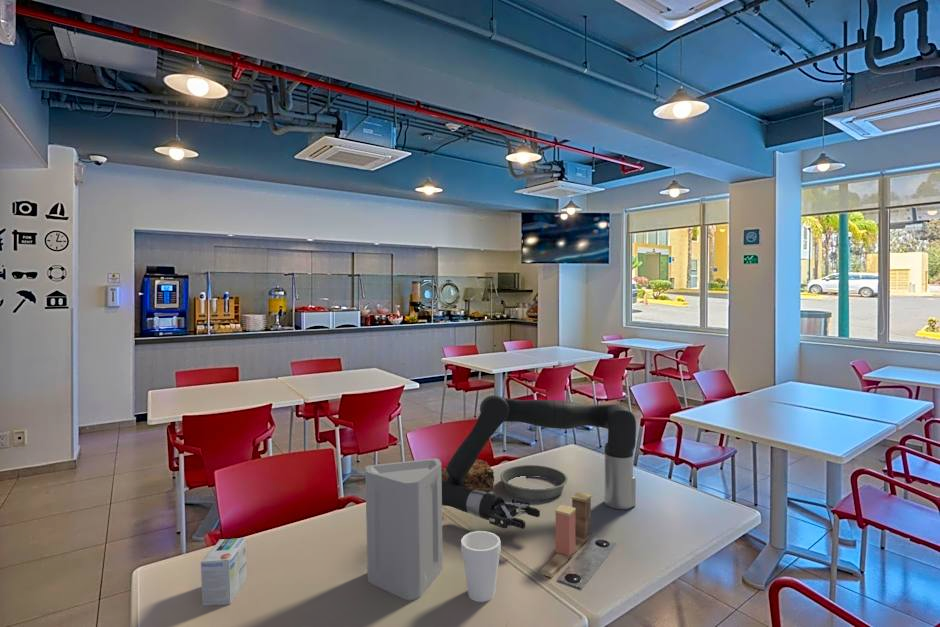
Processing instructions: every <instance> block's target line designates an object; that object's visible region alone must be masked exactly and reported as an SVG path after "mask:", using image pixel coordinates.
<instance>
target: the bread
mask: <svg viewBox="0 0 940 627" xmlns="http://www.w3.org/2000/svg"><path fill="white" fill-rule="evenodd" d="M494 473H495V472H494V470H493V469H492V467H491V466H490V465H489V464H488V462H487V461H485V460H482V459H476V461H475V462H474V464H473V466H472V467H471V469H470V471H469V472H468V474H467V475H466V477H465V479H464V482H463V485H462V487H465V488H470V489H473V490H478V491H484V492H487V493H489V491H493V490H494V482H495V475H494ZM448 475H449V474H448V473H447V472H446V467H445V468H441V478H442V481H445V482H446V480H447V478H448Z"/></svg>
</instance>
